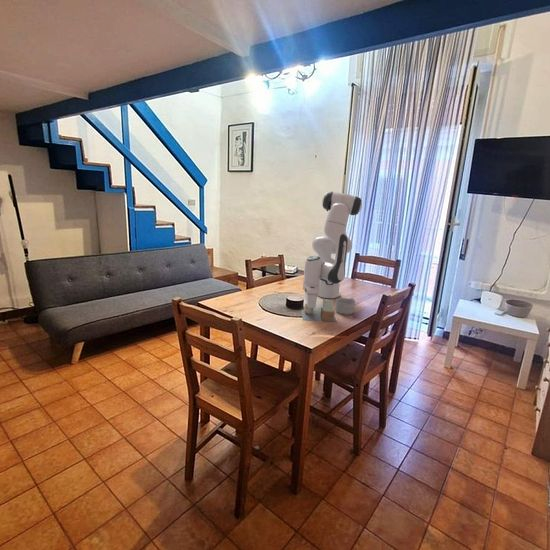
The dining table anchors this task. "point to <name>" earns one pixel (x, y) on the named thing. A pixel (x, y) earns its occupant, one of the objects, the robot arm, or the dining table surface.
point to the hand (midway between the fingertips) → (308, 310)
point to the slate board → (314, 317)
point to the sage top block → (328, 305)
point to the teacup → (345, 306)
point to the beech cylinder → (307, 310)
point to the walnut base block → (327, 315)
